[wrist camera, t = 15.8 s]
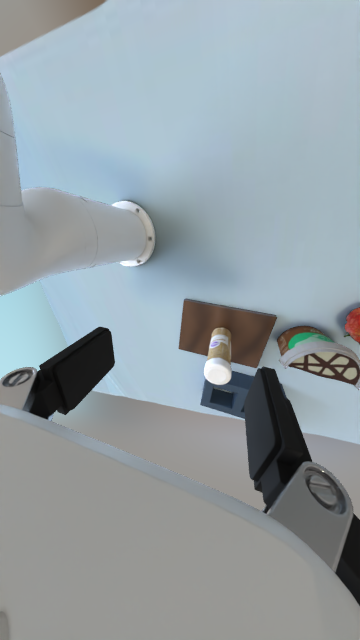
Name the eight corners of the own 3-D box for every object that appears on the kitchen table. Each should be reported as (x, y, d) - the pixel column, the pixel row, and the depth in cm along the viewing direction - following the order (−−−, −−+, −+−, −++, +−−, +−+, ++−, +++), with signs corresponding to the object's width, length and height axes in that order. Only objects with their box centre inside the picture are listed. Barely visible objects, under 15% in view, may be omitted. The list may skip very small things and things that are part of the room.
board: (179, 346, 45) (178, 348, 44) (185, 298, 39) (183, 300, 38) (255, 365, 41) (256, 368, 40) (275, 315, 35) (277, 317, 34)
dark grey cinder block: (203, 390, 50) (200, 404, 45) (208, 364, 45) (206, 378, 41) (267, 409, 46) (271, 427, 42) (281, 383, 41) (287, 400, 37)
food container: (348, 329, 32) (392, 362, 23) (330, 354, 35) (363, 391, 26) (282, 314, 34) (299, 339, 25) (270, 338, 37) (281, 367, 28)
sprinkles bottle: (221, 323, 37) (217, 360, 26) (235, 336, 38) (237, 378, 26) (207, 334, 40) (198, 373, 28) (220, 346, 40) (216, 389, 28)
